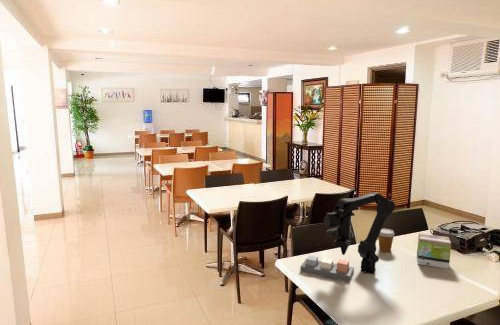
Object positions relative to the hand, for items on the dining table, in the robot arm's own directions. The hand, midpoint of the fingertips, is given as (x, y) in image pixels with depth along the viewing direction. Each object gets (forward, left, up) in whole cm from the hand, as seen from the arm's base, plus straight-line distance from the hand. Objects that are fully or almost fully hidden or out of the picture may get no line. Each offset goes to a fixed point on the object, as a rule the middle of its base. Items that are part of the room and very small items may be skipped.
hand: (343, 254), depth 175 cm
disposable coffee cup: (-16, -43, -11) cm, 48 cm away
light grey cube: (+16, 0, -10) cm, 19 cm away
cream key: (+8, 0, -10) cm, 13 cm away
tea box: (-41, -35, -11) cm, 55 cm away
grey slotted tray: (+8, 0, -11) cm, 14 cm away
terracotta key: (0, 0, -9) cm, 9 cm away
